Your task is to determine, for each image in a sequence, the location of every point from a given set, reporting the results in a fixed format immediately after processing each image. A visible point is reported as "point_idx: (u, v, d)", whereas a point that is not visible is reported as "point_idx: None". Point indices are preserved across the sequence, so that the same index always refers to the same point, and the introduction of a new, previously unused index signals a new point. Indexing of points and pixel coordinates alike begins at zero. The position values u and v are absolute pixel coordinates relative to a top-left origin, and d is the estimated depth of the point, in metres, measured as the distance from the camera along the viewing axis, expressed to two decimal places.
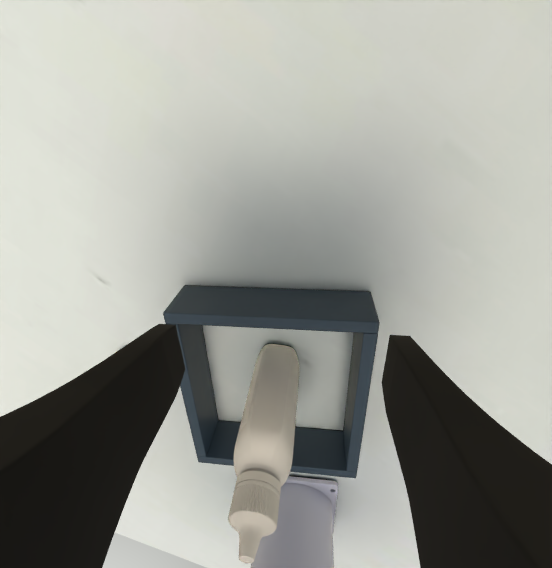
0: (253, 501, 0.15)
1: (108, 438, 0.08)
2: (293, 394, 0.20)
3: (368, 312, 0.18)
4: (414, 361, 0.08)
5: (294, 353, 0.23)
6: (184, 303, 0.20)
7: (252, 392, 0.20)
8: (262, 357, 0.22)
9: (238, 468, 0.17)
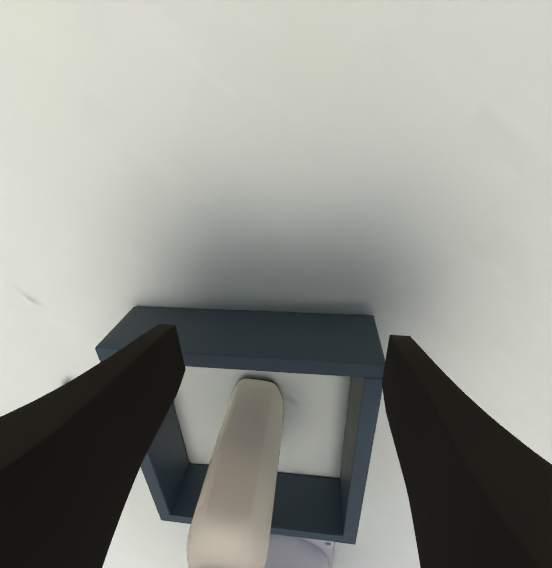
0: None
1: (108, 438, 0.08)
2: (272, 452, 0.15)
3: (371, 348, 0.14)
4: (414, 361, 0.08)
5: (276, 391, 0.18)
6: (127, 333, 0.15)
7: (216, 451, 0.15)
8: (234, 398, 0.17)
9: None
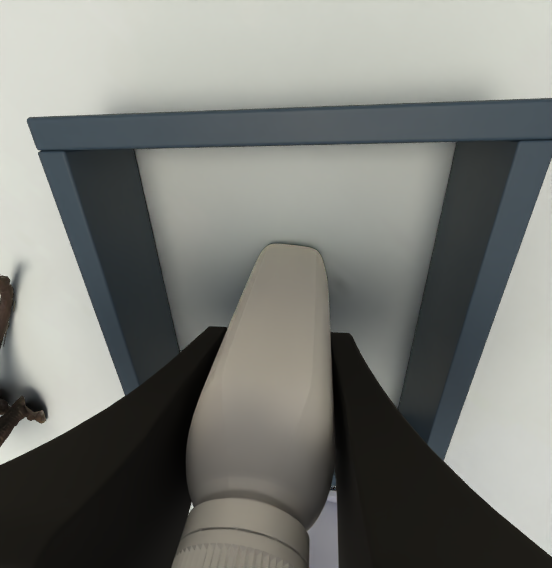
0: None
1: (178, 445, 0.07)
2: (327, 321, 0.09)
3: None
4: (343, 357, 0.09)
5: (321, 259, 0.12)
6: None
7: (236, 311, 0.09)
8: (260, 260, 0.11)
9: (193, 488, 0.06)
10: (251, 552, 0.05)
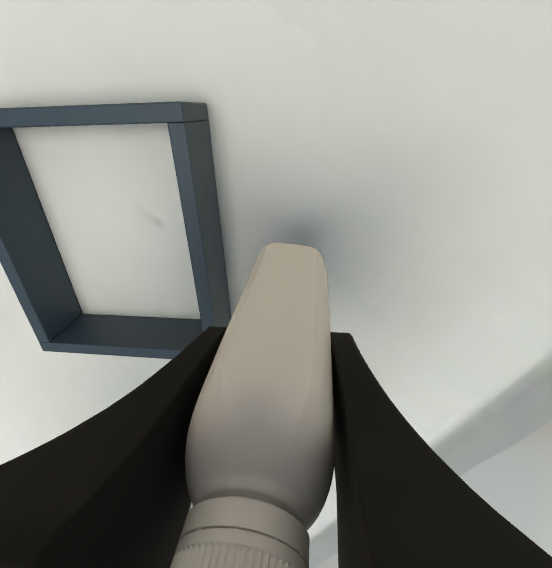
0: None
1: (178, 445, 0.07)
2: (327, 320, 0.09)
3: None
4: (343, 357, 0.09)
5: (321, 258, 0.12)
6: None
7: (236, 310, 0.09)
8: (260, 258, 0.11)
9: (192, 487, 0.06)
10: (250, 551, 0.05)
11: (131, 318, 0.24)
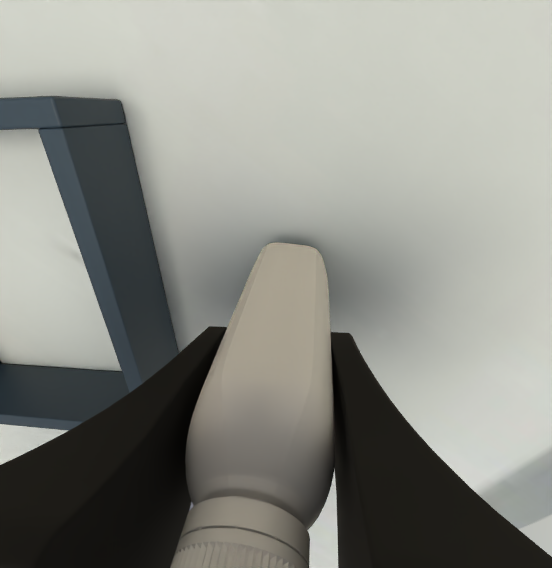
0: None
1: (178, 445, 0.07)
2: (327, 319, 0.09)
3: None
4: (343, 357, 0.09)
5: (321, 258, 0.12)
6: None
7: (236, 310, 0.09)
8: (260, 258, 0.11)
9: (193, 487, 0.06)
10: (251, 551, 0.05)
11: (59, 371, 0.19)
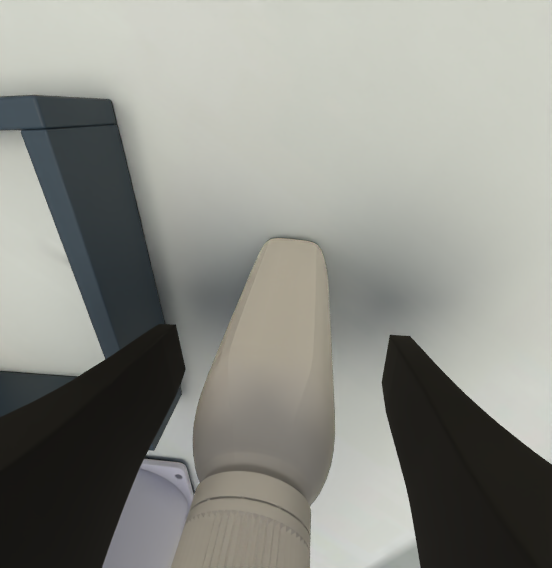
0: None
1: (108, 438, 0.08)
2: (327, 310, 0.10)
3: None
4: (414, 361, 0.08)
5: (321, 253, 0.12)
6: None
7: (240, 301, 0.09)
8: (262, 253, 0.12)
9: (200, 465, 0.07)
10: (256, 518, 0.05)
11: (52, 378, 0.18)
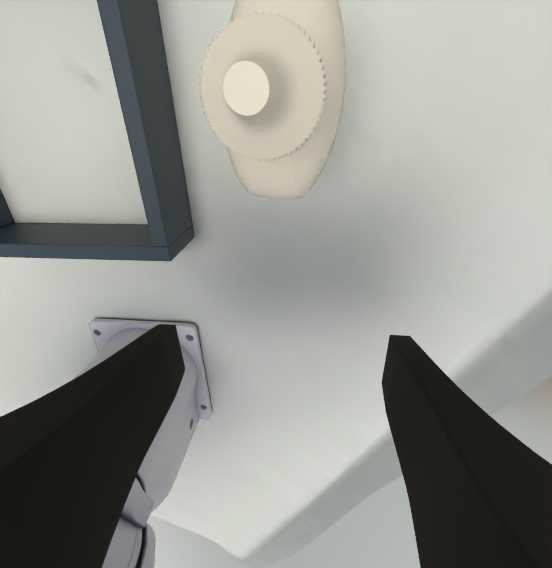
0: None
1: (108, 438, 0.08)
2: None
3: None
4: (414, 361, 0.08)
5: None
6: None
7: None
8: None
9: None
10: None
11: (71, 224, 0.19)
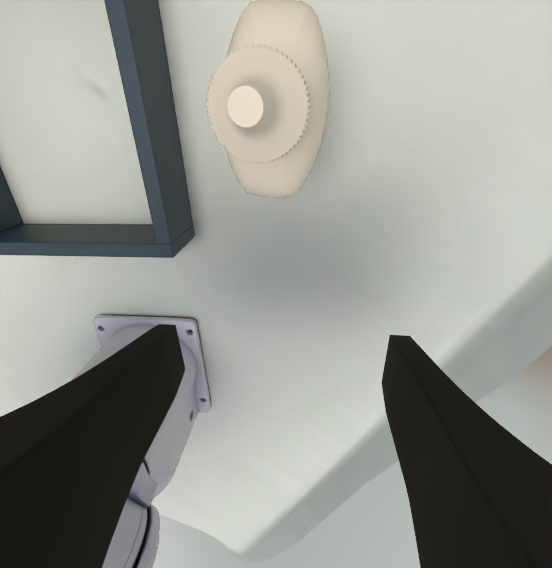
0: None
1: (108, 438, 0.08)
2: None
3: None
4: (414, 361, 0.08)
5: None
6: None
7: None
8: None
9: None
10: None
11: (78, 225, 0.21)
